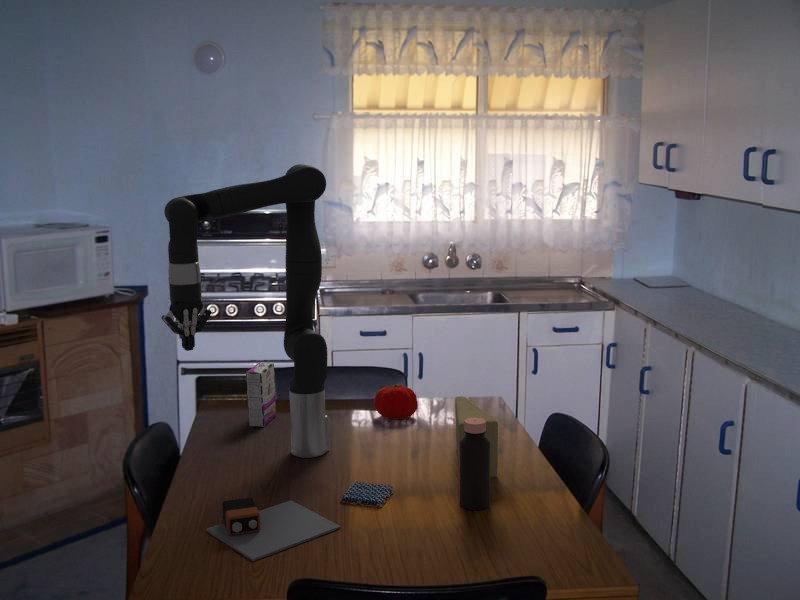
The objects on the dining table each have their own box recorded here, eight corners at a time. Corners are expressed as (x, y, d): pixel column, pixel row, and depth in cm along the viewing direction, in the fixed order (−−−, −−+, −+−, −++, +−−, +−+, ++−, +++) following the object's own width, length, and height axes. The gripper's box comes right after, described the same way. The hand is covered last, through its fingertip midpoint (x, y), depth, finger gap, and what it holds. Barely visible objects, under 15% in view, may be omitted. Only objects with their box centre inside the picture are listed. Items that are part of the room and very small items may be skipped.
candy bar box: (261, 414, 271) (258, 361, 267) (277, 415, 270) (275, 362, 266) (247, 426, 260) (245, 371, 257) (264, 427, 259) (261, 372, 256)
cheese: (441, 449, 241) (441, 395, 238) (476, 446, 242) (477, 393, 239) (459, 481, 219) (459, 422, 217) (498, 478, 221) (499, 419, 218)
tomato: (417, 423, 262) (417, 389, 260) (373, 423, 262) (373, 389, 260) (417, 411, 273) (417, 378, 271) (375, 411, 273) (374, 378, 271)
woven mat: (396, 492, 214) (396, 484, 214) (381, 510, 204) (381, 502, 204) (354, 487, 217) (354, 479, 217) (338, 505, 207) (338, 496, 207)
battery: (221, 500, 197) (228, 519, 188) (252, 496, 199) (260, 514, 190) (222, 519, 198) (229, 538, 189) (253, 514, 200) (261, 533, 191)
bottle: (469, 513, 201) (470, 427, 197) (453, 502, 207) (454, 418, 203) (495, 507, 204) (496, 422, 200) (479, 496, 210) (479, 414, 206)
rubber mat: (291, 502, 208) (290, 500, 208) (340, 528, 194) (340, 526, 194) (206, 531, 194) (205, 528, 194) (252, 561, 180) (252, 559, 180)
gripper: (167, 286, 212) (171, 357, 216) (216, 279, 221) (220, 348, 224) (152, 282, 218) (156, 351, 221) (201, 275, 226) (204, 342, 230)
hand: (188, 349), depth 223 cm, fingers closed
